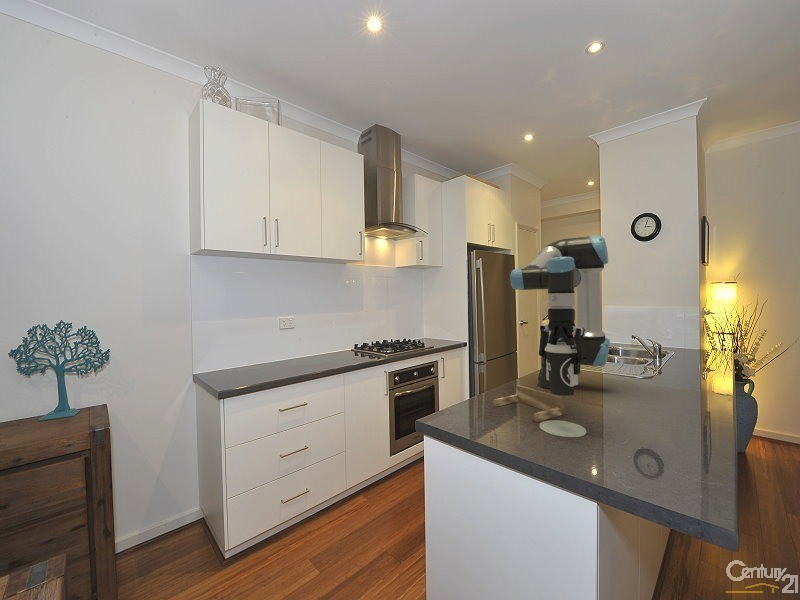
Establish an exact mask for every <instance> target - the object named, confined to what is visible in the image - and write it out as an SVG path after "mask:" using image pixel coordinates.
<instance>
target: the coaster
mask: <svg viewBox="0 0 800 600" xmlns="http://www.w3.org/2000/svg"><path fill="white" fill-rule="evenodd" d="M539 428H540V430H542V431H543V432H544V433H547V434H550V435H552V436H557V437H562V438H579V437H583V436H585V435H587V429H586V428H585V427H583V426H581V425H580V424H578V423H574V422H570V421H565V420H556V419H555V420H554V419H553V420H552V419H551V420H550V419H549V420H543V421H540V423H539Z"/></svg>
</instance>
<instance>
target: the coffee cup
mask: <svg viewBox="0 0 800 600" xmlns="http://www.w3.org/2000/svg"><path fill="white" fill-rule="evenodd" d="M572 347H574V345H572ZM572 350H573V351H572ZM545 351H546V355H547V363H548V373H549V382H550V389H549V390H550V394H553V395H557V396H561V397H563V396H564V397H567V396H568V397H569V396H573V395H574V394H575V385H574V386H571V385H570V363H571V362H572V359H571V354H572V353H577V349H571V347H570V346H569V345H566V343H562V342H557V344H556V345H552V344H550V343H547V346H546V347H545Z"/></svg>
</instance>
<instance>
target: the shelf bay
mask: <svg viewBox="0 0 800 600" xmlns="http://www.w3.org/2000/svg"><path fill="white" fill-rule="evenodd" d="M492 401H493V403H492V406H493V407H495V408H497V407H502V406H507V405H511V404H515V403H521V404H525V405H527V406H530V407H534V408H536V409H540V410H542V411H538V412H534V413H533V422H535V423H539V422H544V421H547V420H548V419H549V420H550V419H553V418H556V417H559V416H562V415H564V397H563V396H562V395H556V394H553V393H551V392H550V393H549V392H545V391H543V390H542V391H541V390H539V389H534V388H531V387H527V386H523V385H520V384H516V385H515V394H512V395H506V396H503V397H502V396H501V397H499V398H494V399H492Z"/></svg>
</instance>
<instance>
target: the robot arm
mask: <svg viewBox="0 0 800 600" xmlns="http://www.w3.org/2000/svg"><path fill="white" fill-rule="evenodd" d="M606 264H607V265H608V264H609V252H608V247H607V242H606V240H605V238H604V237H603V236H602V235H589V236H580V237H572V238H571V237H570V238H561V239H558V240H556V241H552V242H551V243H549V244H546V246H544V247H543V248H541V250H539V252H538V254H537V256H536V257H535V258H534V259H533V260H532V261H530V262H529V263H528V264H527V265H526V266H524V268H516V269H512V271H511V272H510V277H509V278H510V279H509V280H510V286H511V288H512V289H513V290H517V291H518V290H520V291H527V290H528V291H532V290H547V306H548V307H549V308H548V309H547V319H548V324H545V325H540V326H539V329H540V340H539V346H538V348H539V349H538V356H539V357H540V359H541V360H540V369H539V370H540V371H539V373H538V376H537V378H536V379H537V380H536V384H537V386H538V387H541V388H544V389H549V390H550V382H549V373H548V363H547V355H546V351H545V347H546V346H547V343H550V344H552V345H556V344H557V342H562V343H566V345H569V346H570V347H571V349H577V353H572V354H571V359H572V362H571V363H570V385H571V386H574V387H575V386H578V385H579V375H580V374H581V366H588V367H589V366H592V367H604V366H605V365H606V364H607V362H608V358H609V352H610V345H611V344H610V343H611V340H610V339H609V338H608V337H607V338H606V333H605V332H604V331H602V317H601V316H602V313H601V311H602V309H601V307H602V306H601V272H602V271H604V269H605V265H606ZM575 289H576V291H575ZM575 292H576V293H575ZM575 299H577V300H575ZM576 301H577V302H576ZM576 304H577V305H576ZM575 306H577V307H576V309H577V326H576V325H575V320H576V310H575V308H574V307H575ZM572 345H574V347H572ZM572 351H573V350H572Z"/></svg>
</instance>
